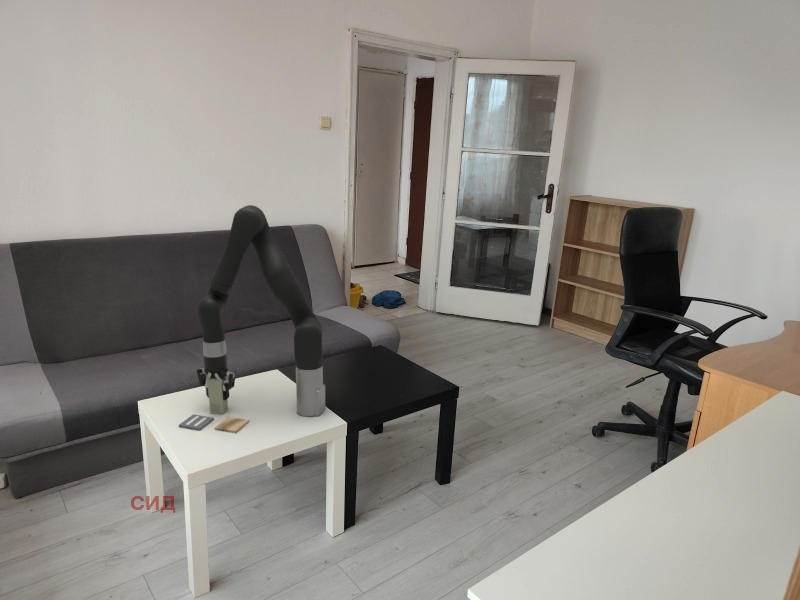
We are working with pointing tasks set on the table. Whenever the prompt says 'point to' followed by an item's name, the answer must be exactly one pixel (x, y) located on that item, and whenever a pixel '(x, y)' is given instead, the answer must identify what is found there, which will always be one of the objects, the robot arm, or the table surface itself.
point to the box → (216, 396)
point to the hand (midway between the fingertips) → (217, 398)
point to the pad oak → (231, 425)
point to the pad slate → (196, 422)
